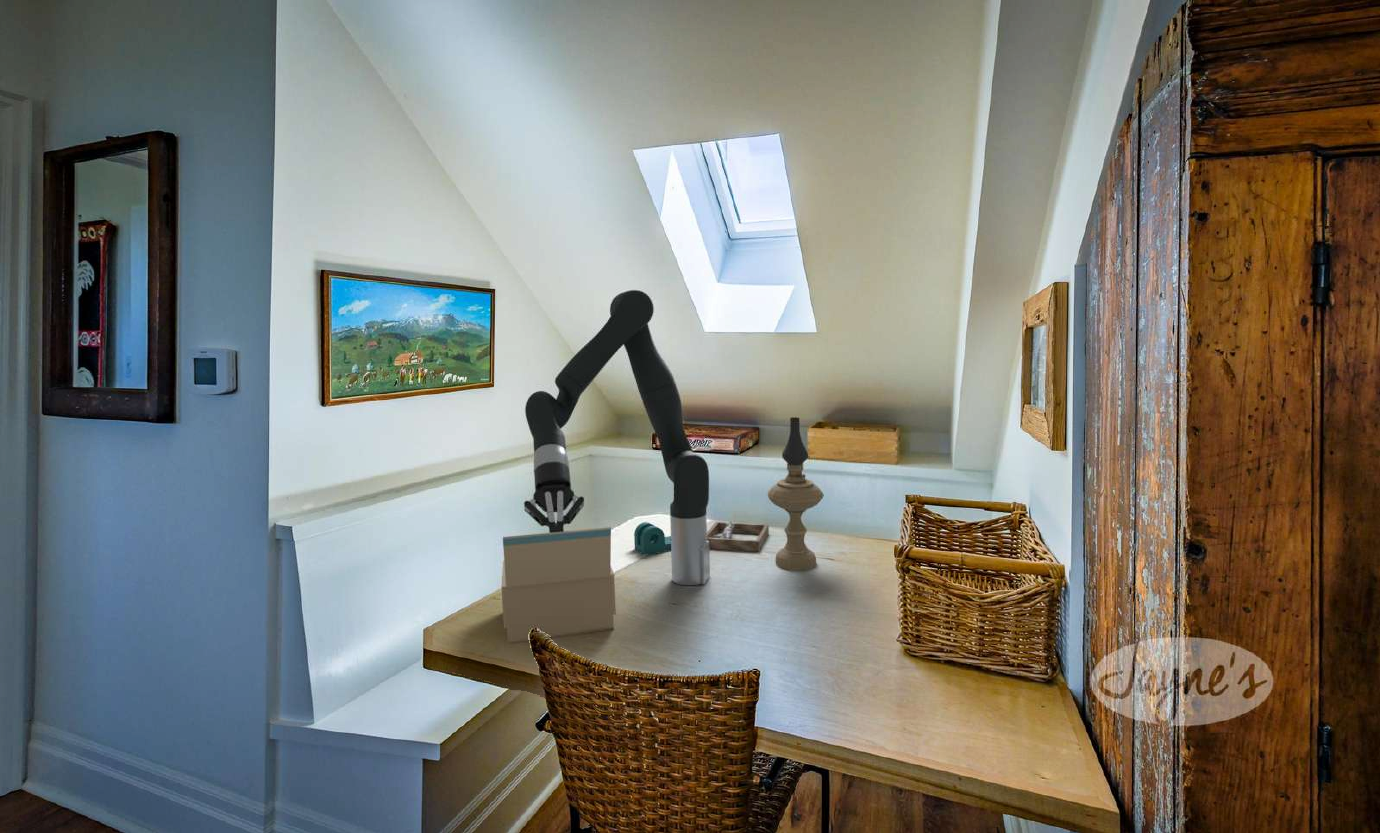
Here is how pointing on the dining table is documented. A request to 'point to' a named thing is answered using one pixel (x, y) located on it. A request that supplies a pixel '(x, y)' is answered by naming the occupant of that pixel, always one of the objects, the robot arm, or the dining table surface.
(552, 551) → the wooden box lid
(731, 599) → the dining table surface
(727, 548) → the wooden tray
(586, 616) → the tan open box
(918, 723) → the dining table surface
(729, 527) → the soldier figure
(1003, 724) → the dining table surface
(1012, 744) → the dining table surface
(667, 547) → the bracket
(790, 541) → the oil lamp
